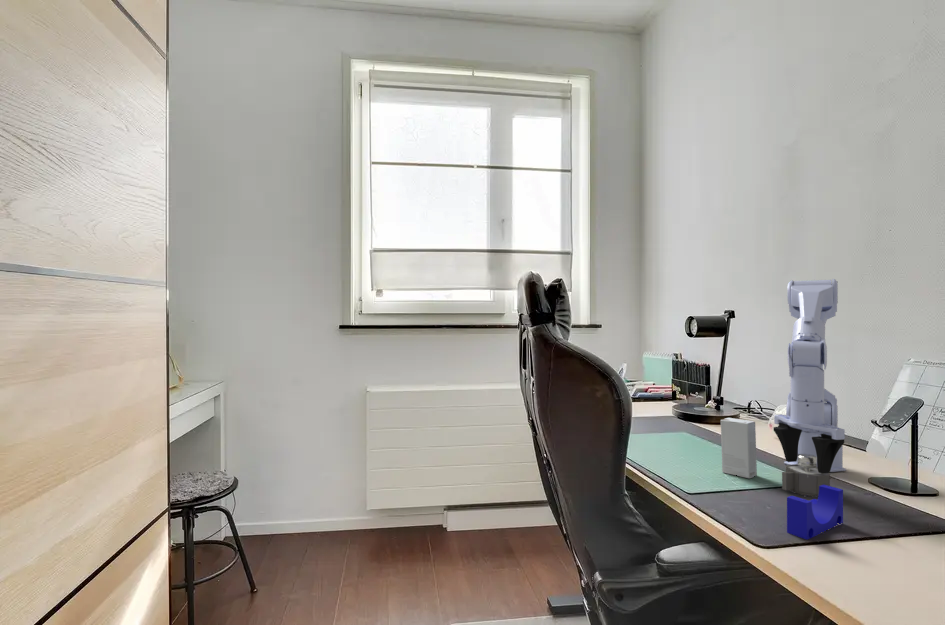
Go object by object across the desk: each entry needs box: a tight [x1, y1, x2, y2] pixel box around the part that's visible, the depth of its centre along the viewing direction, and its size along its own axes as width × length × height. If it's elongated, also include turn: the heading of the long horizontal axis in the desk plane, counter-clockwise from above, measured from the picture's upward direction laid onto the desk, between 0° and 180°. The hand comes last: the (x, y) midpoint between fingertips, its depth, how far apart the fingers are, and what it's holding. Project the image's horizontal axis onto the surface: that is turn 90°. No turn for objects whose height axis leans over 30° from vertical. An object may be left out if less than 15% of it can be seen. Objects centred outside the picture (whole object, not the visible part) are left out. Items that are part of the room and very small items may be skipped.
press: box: [781, 464, 831, 498], centre depth 102 cm, size 9×7×4 cm
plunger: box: [798, 454, 817, 471], centre depth 102 cm, size 3×3×6 cm
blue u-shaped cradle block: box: [786, 485, 844, 540], centre depth 85 cm, size 12×4×6 cm, turn 121°
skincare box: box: [720, 417, 758, 479], centre depth 112 cm, size 6×4×12 cm
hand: (807, 466), depth 102 cm, fingers open, 7 cm apart
